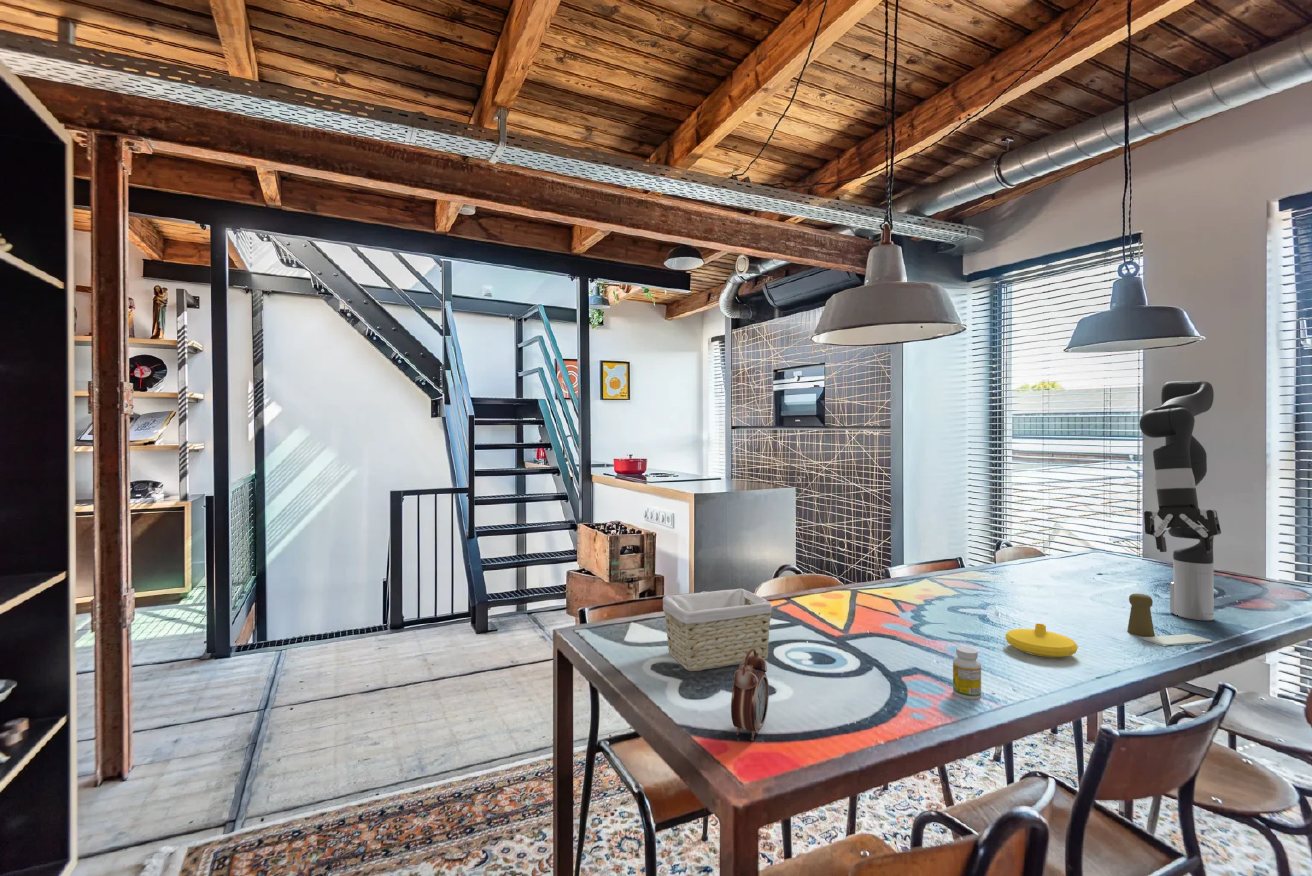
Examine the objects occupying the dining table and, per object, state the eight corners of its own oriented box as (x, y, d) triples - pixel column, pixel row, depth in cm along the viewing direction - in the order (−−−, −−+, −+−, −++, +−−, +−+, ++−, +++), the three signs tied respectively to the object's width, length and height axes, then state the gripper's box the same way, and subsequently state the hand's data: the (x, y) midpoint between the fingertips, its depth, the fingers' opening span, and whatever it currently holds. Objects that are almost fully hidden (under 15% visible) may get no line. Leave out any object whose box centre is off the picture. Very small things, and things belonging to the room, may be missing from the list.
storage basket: (684, 675, 136) (684, 611, 136) (660, 652, 152) (660, 594, 152) (774, 662, 144) (774, 602, 145) (743, 641, 160) (743, 587, 160)
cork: (1159, 637, 163) (1159, 597, 163) (1134, 636, 164) (1134, 596, 164) (1146, 630, 169) (1146, 592, 169) (1122, 629, 170) (1122, 591, 170)
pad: (1142, 639, 162) (1142, 637, 162) (1189, 635, 165) (1189, 633, 165) (1163, 646, 156) (1164, 644, 156) (1212, 642, 159) (1212, 640, 159)
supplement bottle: (978, 702, 122) (978, 656, 122) (950, 695, 126) (949, 650, 126) (983, 694, 126) (983, 649, 126) (956, 687, 130) (956, 643, 130)
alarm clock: (754, 747, 104) (754, 662, 104) (728, 741, 106) (728, 658, 106) (769, 721, 114) (770, 643, 114) (745, 716, 116) (745, 639, 116)
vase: (1066, 645, 157) (1066, 619, 157) (1088, 667, 142) (1087, 637, 142) (999, 639, 162) (998, 613, 162) (1013, 659, 147) (1013, 631, 147)
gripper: (1218, 485, 145) (1228, 553, 143) (1148, 488, 157) (1156, 550, 155) (1206, 485, 141) (1216, 554, 139) (1134, 488, 153) (1143, 552, 151)
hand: (1184, 552), depth 147 cm, fingers open, 8 cm apart
